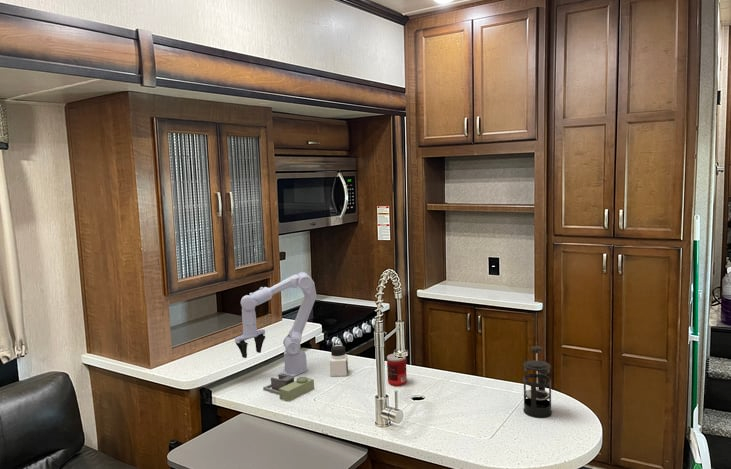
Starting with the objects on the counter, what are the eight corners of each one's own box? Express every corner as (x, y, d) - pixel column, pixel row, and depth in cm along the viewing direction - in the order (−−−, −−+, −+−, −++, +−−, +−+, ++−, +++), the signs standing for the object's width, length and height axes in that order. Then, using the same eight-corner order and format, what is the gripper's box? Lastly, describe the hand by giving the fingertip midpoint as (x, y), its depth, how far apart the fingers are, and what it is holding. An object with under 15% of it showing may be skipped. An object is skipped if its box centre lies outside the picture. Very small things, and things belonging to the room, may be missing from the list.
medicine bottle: (347, 376, 222) (345, 348, 220) (330, 376, 222) (329, 349, 220) (348, 370, 229) (346, 343, 227) (331, 370, 229) (330, 344, 227)
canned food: (407, 378, 216) (406, 352, 215) (406, 386, 208) (405, 359, 207) (388, 378, 216) (387, 353, 215) (387, 386, 209) (386, 359, 207)
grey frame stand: (285, 380, 220) (284, 368, 220) (314, 388, 210) (313, 376, 209) (259, 391, 210) (258, 379, 209) (288, 401, 199) (287, 388, 198)
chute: (271, 389, 211) (270, 377, 211) (280, 385, 215) (279, 373, 215) (286, 393, 207) (285, 381, 206) (294, 389, 211) (293, 377, 210)
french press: (547, 421, 174) (546, 354, 171) (519, 415, 179) (518, 350, 176) (556, 407, 183) (555, 343, 181) (529, 402, 188) (528, 340, 186)
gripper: (256, 318, 230) (258, 348, 231) (229, 326, 218) (231, 358, 220) (267, 320, 225) (269, 351, 227) (240, 329, 214) (242, 361, 215)
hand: (251, 354), depth 223 cm, fingers open, 7 cm apart
